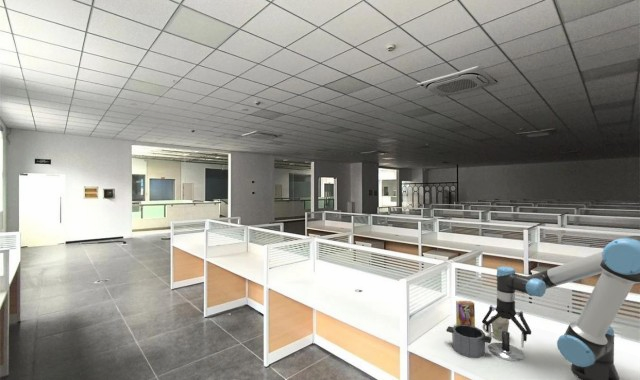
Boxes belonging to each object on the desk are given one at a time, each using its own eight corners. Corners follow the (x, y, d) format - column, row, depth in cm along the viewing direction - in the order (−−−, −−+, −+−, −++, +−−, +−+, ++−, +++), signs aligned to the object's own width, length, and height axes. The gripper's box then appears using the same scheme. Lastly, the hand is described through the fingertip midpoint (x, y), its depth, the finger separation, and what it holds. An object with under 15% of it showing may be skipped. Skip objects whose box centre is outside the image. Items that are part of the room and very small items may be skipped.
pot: (493, 349, 148) (493, 331, 148) (488, 363, 137) (488, 343, 136) (451, 337, 160) (451, 320, 160) (443, 349, 149) (443, 331, 149)
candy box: (472, 326, 171) (472, 300, 171) (475, 330, 167) (475, 303, 166) (455, 326, 172) (455, 300, 172) (458, 330, 168) (458, 303, 167)
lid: (525, 350, 147) (525, 330, 147) (523, 365, 135) (523, 344, 135) (490, 341, 156) (490, 322, 156) (485, 354, 144) (485, 334, 144)
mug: (511, 342, 154) (511, 323, 154) (485, 340, 157) (485, 321, 156) (505, 334, 162) (505, 316, 162) (480, 332, 165) (480, 314, 164)
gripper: (537, 302, 140) (537, 347, 141) (478, 291, 155) (478, 331, 156) (537, 308, 134) (537, 354, 135) (475, 295, 150) (475, 337, 150)
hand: (505, 342), depth 145 cm, fingers open, 13 cm apart
